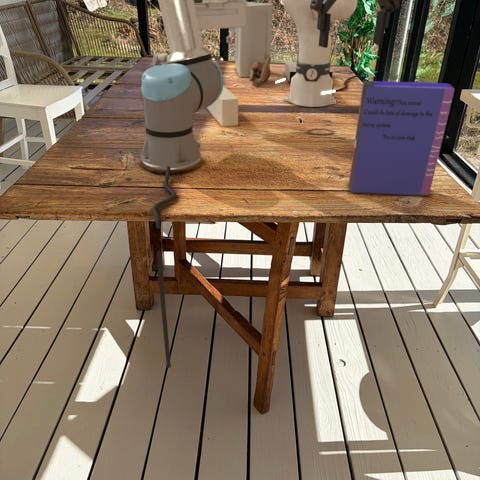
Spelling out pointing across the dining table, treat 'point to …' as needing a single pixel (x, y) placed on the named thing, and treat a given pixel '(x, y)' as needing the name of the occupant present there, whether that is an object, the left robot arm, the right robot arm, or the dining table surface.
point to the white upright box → (253, 37)
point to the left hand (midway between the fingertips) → (350, 45)
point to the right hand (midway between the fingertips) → (215, 43)
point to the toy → (163, 58)
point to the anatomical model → (260, 71)
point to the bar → (225, 108)
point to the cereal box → (399, 137)
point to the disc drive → (294, 70)
